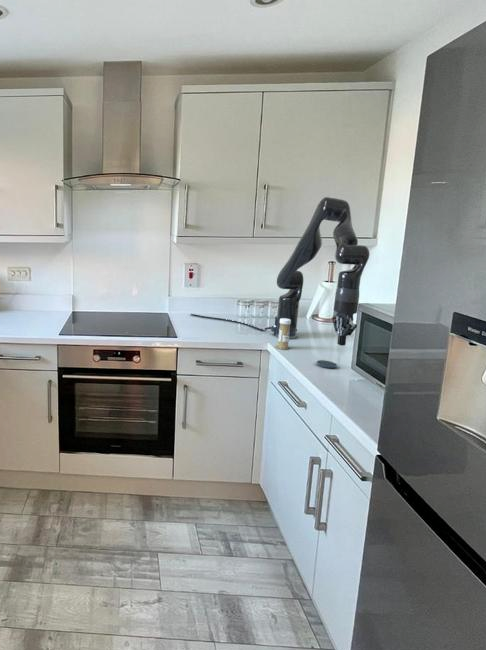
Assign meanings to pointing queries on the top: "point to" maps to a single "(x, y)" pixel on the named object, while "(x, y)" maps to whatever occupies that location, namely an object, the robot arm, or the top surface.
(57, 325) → the top surface
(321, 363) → the plate
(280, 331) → the sprinkles bottle
